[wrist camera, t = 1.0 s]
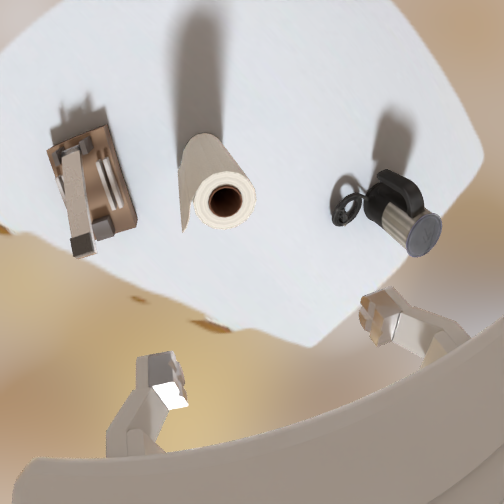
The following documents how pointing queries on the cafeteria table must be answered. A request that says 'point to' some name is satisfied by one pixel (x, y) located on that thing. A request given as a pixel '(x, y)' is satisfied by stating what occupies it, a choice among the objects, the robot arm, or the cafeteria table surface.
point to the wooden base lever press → (99, 182)
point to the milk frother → (396, 212)
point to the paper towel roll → (213, 185)
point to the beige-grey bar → (77, 203)
